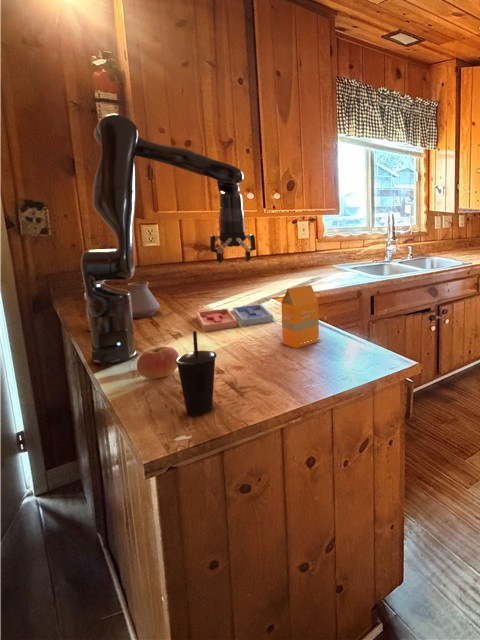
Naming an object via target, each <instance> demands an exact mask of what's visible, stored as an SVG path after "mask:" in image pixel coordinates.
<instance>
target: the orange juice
mask: <svg viewBox="0 0 480 640" xmlns="http://www.w3.org/2000/svg"><path fill="white" fill-rule="evenodd" d="M280 305H281V330H282V331H281V332H282V333H281V334H282V344H283V345H286V346H289V347H291V348H293V349H299V348H301V347H305V346H308V345H312V344H314V343H318V342H320V329H319V326H320V318H319V301H318V298H317V296H316V293H315V291H314V288H313V286H312V285H311V284H308V285H303V286H302V285H301V286H297V287H289V288H287V290H286V291H285V294H284V296H283V298H282V301H281V304H280ZM317 338H319V339H317ZM314 339H315V340H314ZM311 340H312V341H311ZM307 341H309V342H307ZM304 342H306V343H304ZM301 343H302V344H301ZM295 345H296V346H295Z"/></svg>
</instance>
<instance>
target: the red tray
mask: <svg viewBox="0 0 480 640" xmlns="http://www.w3.org/2000/svg"><path fill="white" fill-rule="evenodd" d="M216 313H218V314H222V318H220V319H221V320H222V322H220V323H214V322H213V320H207V319H206V316H207V315H209V314H216ZM196 320H197V321H198V323H199V325H200V327H201V329H202V331H203V332H204V333H206V332H212V331H219V330H225V329H231V328H232V329H233V328H237V327H238V319H237V318H236V316H235V315H234V314H233V313H232V312H231V311H230V310H229V308H228V307H227V308H220V309H213V310H211V309H210V310H205V311H197V312H196Z"/></svg>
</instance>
